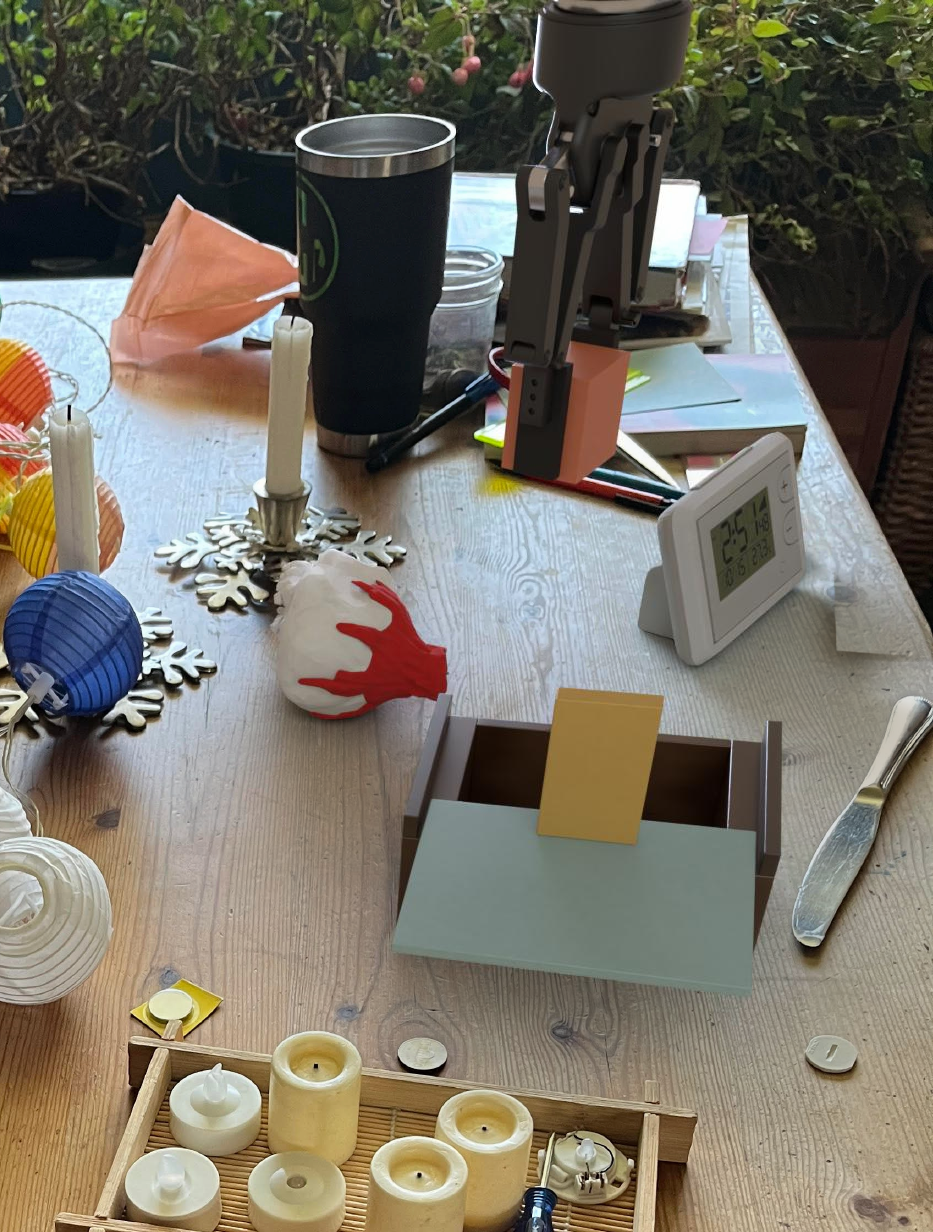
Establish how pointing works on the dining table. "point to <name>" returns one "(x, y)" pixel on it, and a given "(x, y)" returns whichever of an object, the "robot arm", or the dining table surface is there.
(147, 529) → the dining table surface
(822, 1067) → the dining table surface
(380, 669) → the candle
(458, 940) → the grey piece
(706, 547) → the digital clock
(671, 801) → the case
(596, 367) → the block
